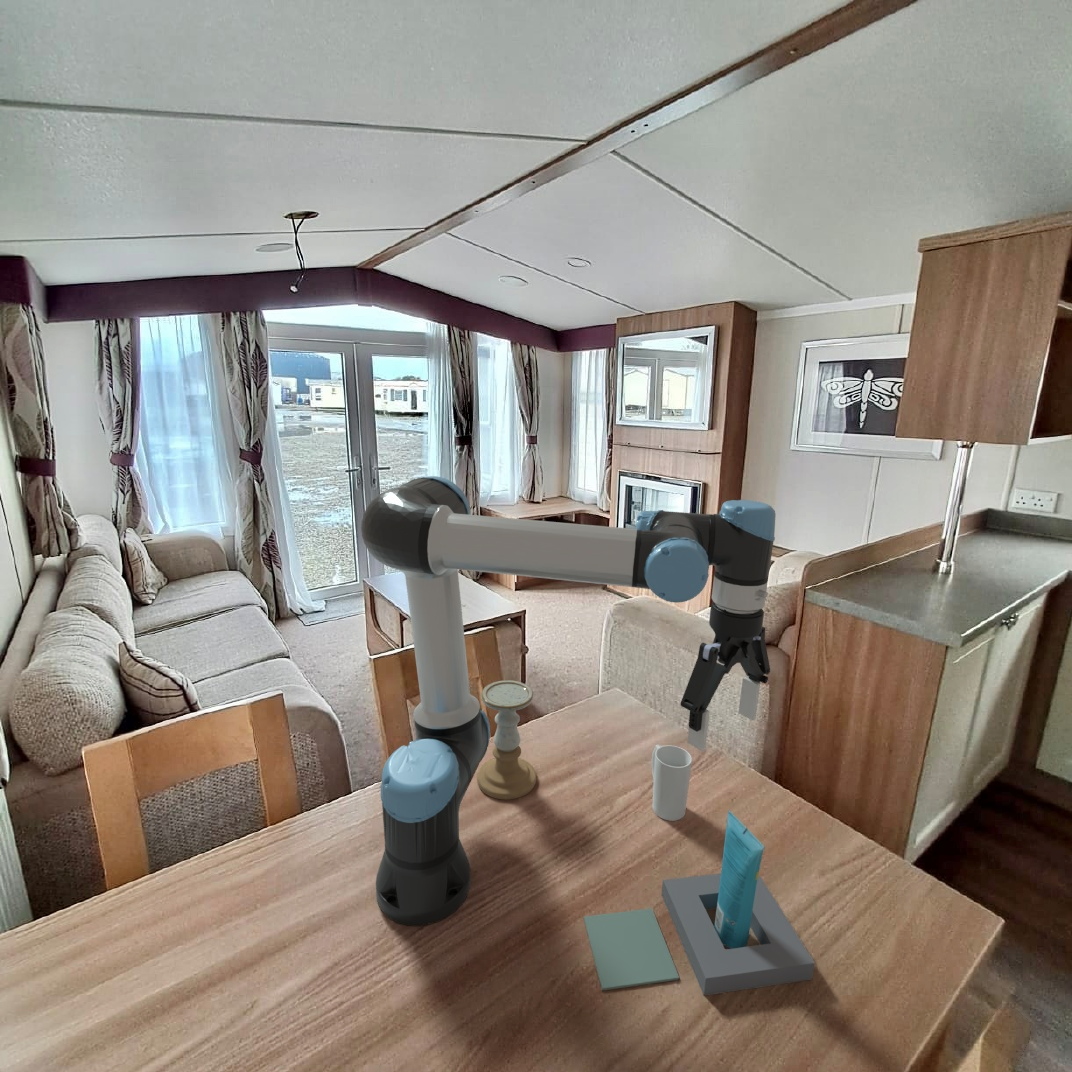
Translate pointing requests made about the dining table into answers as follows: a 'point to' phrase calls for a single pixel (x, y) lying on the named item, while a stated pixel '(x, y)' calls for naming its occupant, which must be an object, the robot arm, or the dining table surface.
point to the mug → (670, 781)
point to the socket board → (735, 967)
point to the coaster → (629, 949)
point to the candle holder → (506, 743)
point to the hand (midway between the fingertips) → (722, 730)
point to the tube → (737, 883)
